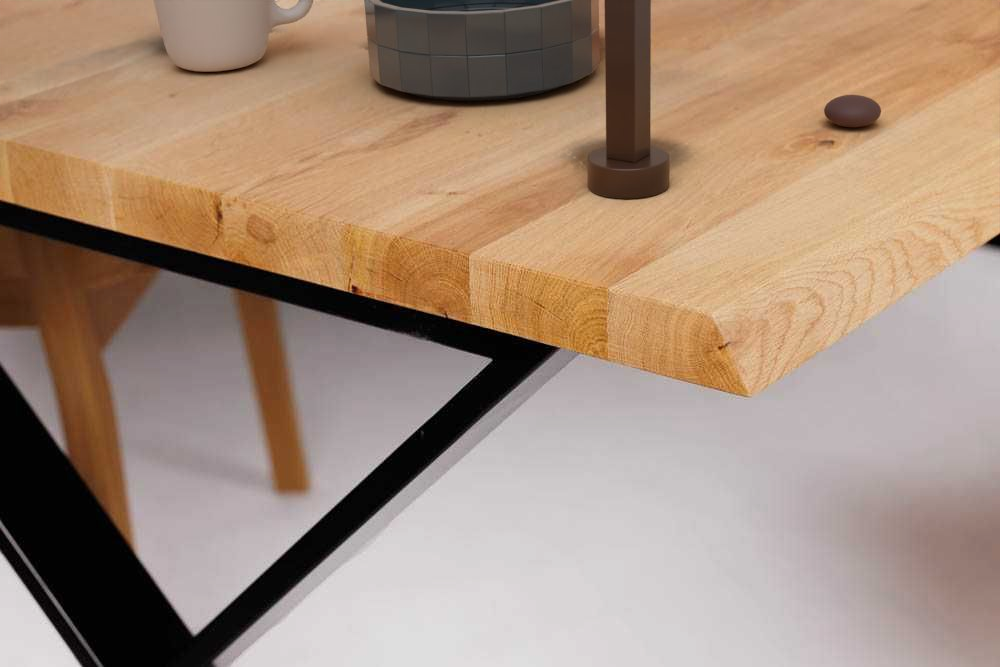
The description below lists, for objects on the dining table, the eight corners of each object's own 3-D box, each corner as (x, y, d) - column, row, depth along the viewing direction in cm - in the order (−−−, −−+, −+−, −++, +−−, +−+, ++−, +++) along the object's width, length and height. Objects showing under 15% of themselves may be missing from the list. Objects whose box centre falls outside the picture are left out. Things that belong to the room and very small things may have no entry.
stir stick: (645, 204, 68) (645, -31, 64) (572, 191, 70) (567, -38, 66) (683, 179, 71) (686, -48, 67) (613, 167, 73) (611, -53, 69)
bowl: (518, 119, 81) (514, 22, 79) (325, 90, 89) (316, 0, 86) (639, 60, 92) (639, -27, 90) (457, 38, 99) (453, -43, 97)
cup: (309, 39, 101) (297, -78, 98) (332, 65, 94) (320, -60, 91) (153, 56, 98) (135, -63, 95) (165, 85, 91) (146, -43, 88)
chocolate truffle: (822, 132, 77) (823, 103, 76) (824, 116, 80) (825, 88, 79) (880, 134, 76) (882, 105, 76) (880, 117, 79) (882, 89, 78)
